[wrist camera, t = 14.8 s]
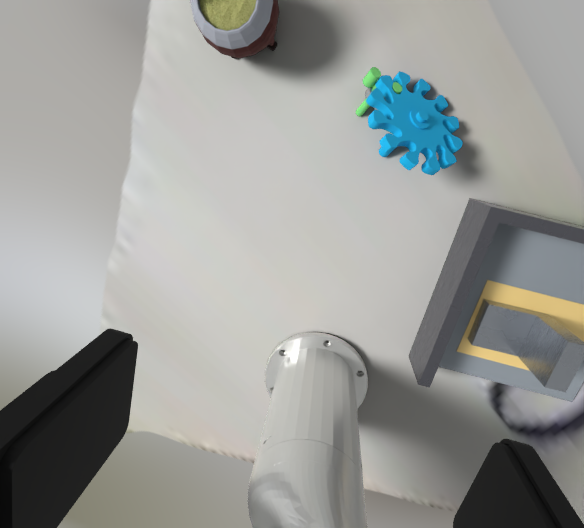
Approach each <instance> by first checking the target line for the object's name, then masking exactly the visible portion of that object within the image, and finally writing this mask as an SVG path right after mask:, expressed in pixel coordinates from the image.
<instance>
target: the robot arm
mask: <svg viewBox="0 0 584 528" xmlns="http://www.w3.org/2000/svg"><path fill="white" fill-rule="evenodd" d="M326 340H328V341H326ZM137 350H138V343H137V342H135V341H133V337H132V335H131V334H128V333H125V332H121V331H118V330H114V329H107V330H106V331H104V332H103V333H102V334H101V335H99V336H98V337H97V338H96V339H94V340H93V341H92V342H91V343H89V344H88V345H87V346H86V347H84V348H83V349H82V350H81V351H79V352H78V353H77V354H76V355H74V356H73V357H72V358H71V359H69V360H68V361H67V362H66V363H64V364H63V365H62V366H61V367H59V368H58V369H57V370H55V371H51V372H50V373H48V374H46V375H45V376H44V377H42V378H41V379H40V380H39V381H38V382H36V383H35V384H34V385H32V386H31V387H30V388H28V389H27V390H26V391H25V392H23V393H22V394H21V395H20V396H18V397H17V398H16V399H14V400H13V401H12V402H11V403H9V404H8V405H7V406H6V407H4V408H3V409H2V410H1V411H0V528H57V527H58V525H59V524H60V523H61V521H62V520H63V518H64V517H65V516H66V514H67V513H68V512H69V510H70V509H71V507H72V506H73V505H74V503H75V502H76V501H77V499H78V498H79V497H80V495H81V494H82V493H83V491H84V490H85V488H86V487H87V486H88V484H89V483H90V482H91V480H92V479H93V477H94V476H95V475H96V473H97V472H98V471H99V469H100V468H101V467H102V465H103V464H104V462H105V461H106V460H107V458H108V457H109V456H110V454H111V453H112V451H113V450H114V448H115V447H116V446H117V445H118V443H119V442H120V441H121V439H122V438H123V436H124V434H125V432H126V430H127V427H128V423H129V415H130V407H131V399H132V391H133V383H134V374H135V366H136V358H137ZM283 350H285V351H283ZM265 385H266V389H267V392H268V394H269V397H270V398H271V400H270V404H269V408H268V412H267V416H266V419H265V423H264V427H263V431H262V435H261V439H260V443H259V447H258V450H257V454H256V458H255V462H254V466H253V470H252V474H251V478H250V483H249V489H248V508H249V515H250V520H251V523H252V527H253V528H367V519H366V509H365V498H364V486H363V474H362V462H361V450H360V438H359V426H358V415H357V409H358V408H359V406H360V405H361V404H362V402H363V400H364V398H365V396H366V393H367V389H368V376H367V370H366V367H365V364H364V361H363V360H362V358H361V356H360V355H359V353H358V352H357V351H356V350H355V349H354V348H353V347H352V346H351V345H350V344H348V343H347V342H346V341H344V340H342V339H340V338H338V337H336V336H333V335H330V334H326V333H319V332H309V333H302V334H298V335H295V336H293V337H290V338H288V339H286V340H285V341H283V342H282V343H280V344H279V345H278V346H277V347H276V348H275V349H274V351H273V353H272V354H271V356H270V357H269V360H268V363H267V366H266V370H265ZM453 528H584V524H583V523H582V521H581V520H580V518H579V517H578V515H577V514H576V512H575V511H574V509H573V508H572V506H571V505H570V503H569V501H568V500H567V498H566V497H565V495H564V494H563V492H562V491H561V489H560V488H559V486H558V485H557V483H556V482H555V480H554V479H553V477H552V476H551V474H550V472H549V471H548V469H547V468H546V466H545V465H544V463H543V462H542V460H541V459H540V457H539V456H538V454H537V453H536V451H535V450H534V449H533V447H532V446H530V445H527V444H524V443H520V442H517V441H513V440H509V439H503V440H502V441H501V442H500V443H495V444H494V445H493V446H492V448H491V450H490V452H489V453H488V455H487V457H486V459H485V461H484V463H483V465H482V467H481V468H480V470H479V472H478V474H477V476H476V478H475V480H474V482H473V483H472V485H471V487H470V489H469V491H468V493H467V495H466V496H465V498H464V500H463V502H462V504H461V506H460V508H459V510H458V511H457V513H456V515H455V518H454V522H453Z"/></svg>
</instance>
